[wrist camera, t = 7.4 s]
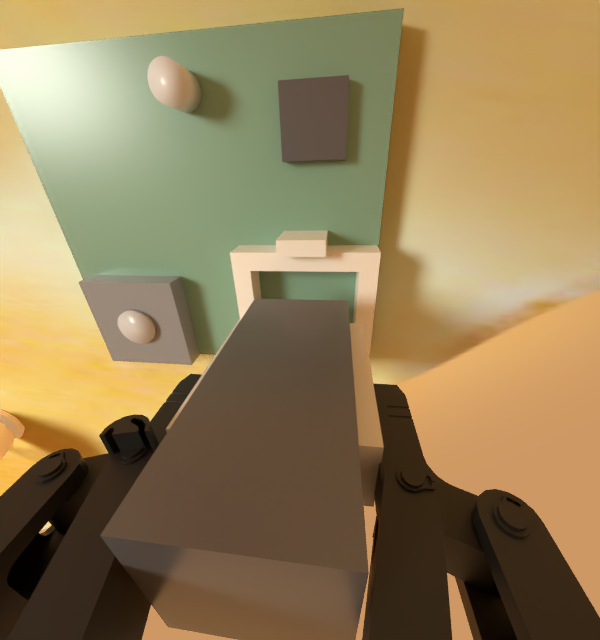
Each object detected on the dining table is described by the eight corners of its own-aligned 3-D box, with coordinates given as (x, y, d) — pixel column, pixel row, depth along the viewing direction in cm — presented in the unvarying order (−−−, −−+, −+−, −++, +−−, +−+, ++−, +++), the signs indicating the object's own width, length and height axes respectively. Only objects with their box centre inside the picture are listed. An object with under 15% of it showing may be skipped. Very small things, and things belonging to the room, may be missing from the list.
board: (11, 60, 14) (-58, 36, 12) (397, 22, 12) (413, -17, 9) (124, 341, 22) (97, 362, 20) (365, 351, 20) (368, 377, 17)
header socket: (237, 231, 16) (221, 240, 13) (378, 229, 15) (385, 240, 12) (254, 355, 20) (244, 377, 18) (365, 360, 19) (368, 384, 17)
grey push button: (108, 269, 19) (74, 283, 17) (239, 270, 18) (224, 286, 15) (135, 341, 22) (110, 363, 19) (250, 346, 21) (239, 370, 18)
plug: (254, 298, 13) (100, 535, 5) (347, 300, 13) (368, 572, 4) (263, 372, 16) (168, 627, 7) (343, 376, 15) (351, 660, 6)
